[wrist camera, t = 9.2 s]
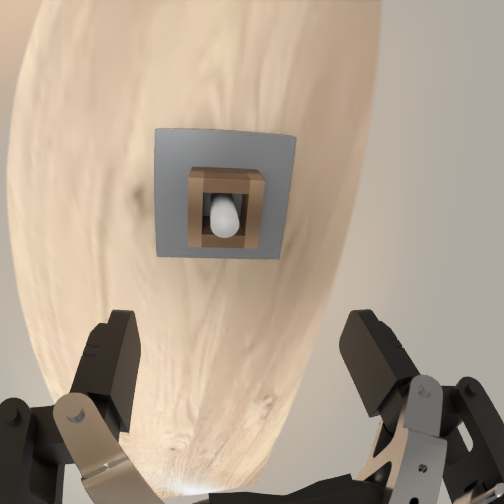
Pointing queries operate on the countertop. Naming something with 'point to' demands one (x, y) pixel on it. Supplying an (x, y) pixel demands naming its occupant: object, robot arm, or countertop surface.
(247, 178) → the ring
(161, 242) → the post stand
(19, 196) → the countertop surface
